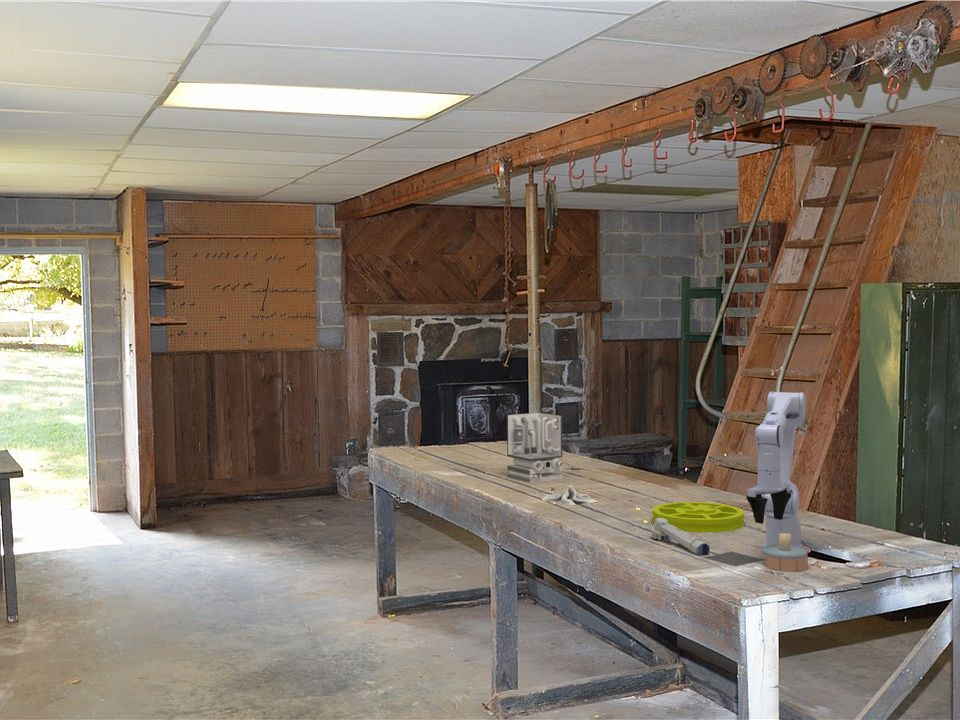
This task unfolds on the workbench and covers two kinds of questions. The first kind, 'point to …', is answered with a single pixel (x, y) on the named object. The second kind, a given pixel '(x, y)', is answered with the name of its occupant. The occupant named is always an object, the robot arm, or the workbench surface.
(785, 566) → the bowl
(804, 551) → the lid
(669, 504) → the pulley
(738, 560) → the mat
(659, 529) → the grey flashlight
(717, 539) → the workbench surface
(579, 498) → the cloth
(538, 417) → the electrical transformer
